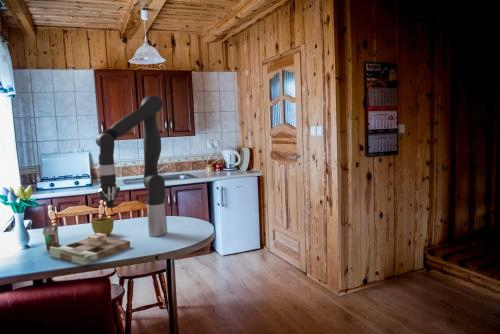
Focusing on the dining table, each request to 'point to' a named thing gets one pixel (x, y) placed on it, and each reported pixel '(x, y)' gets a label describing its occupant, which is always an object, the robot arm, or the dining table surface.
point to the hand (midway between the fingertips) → (110, 207)
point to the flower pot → (103, 225)
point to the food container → (51, 236)
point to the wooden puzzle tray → (88, 250)
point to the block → (97, 239)
